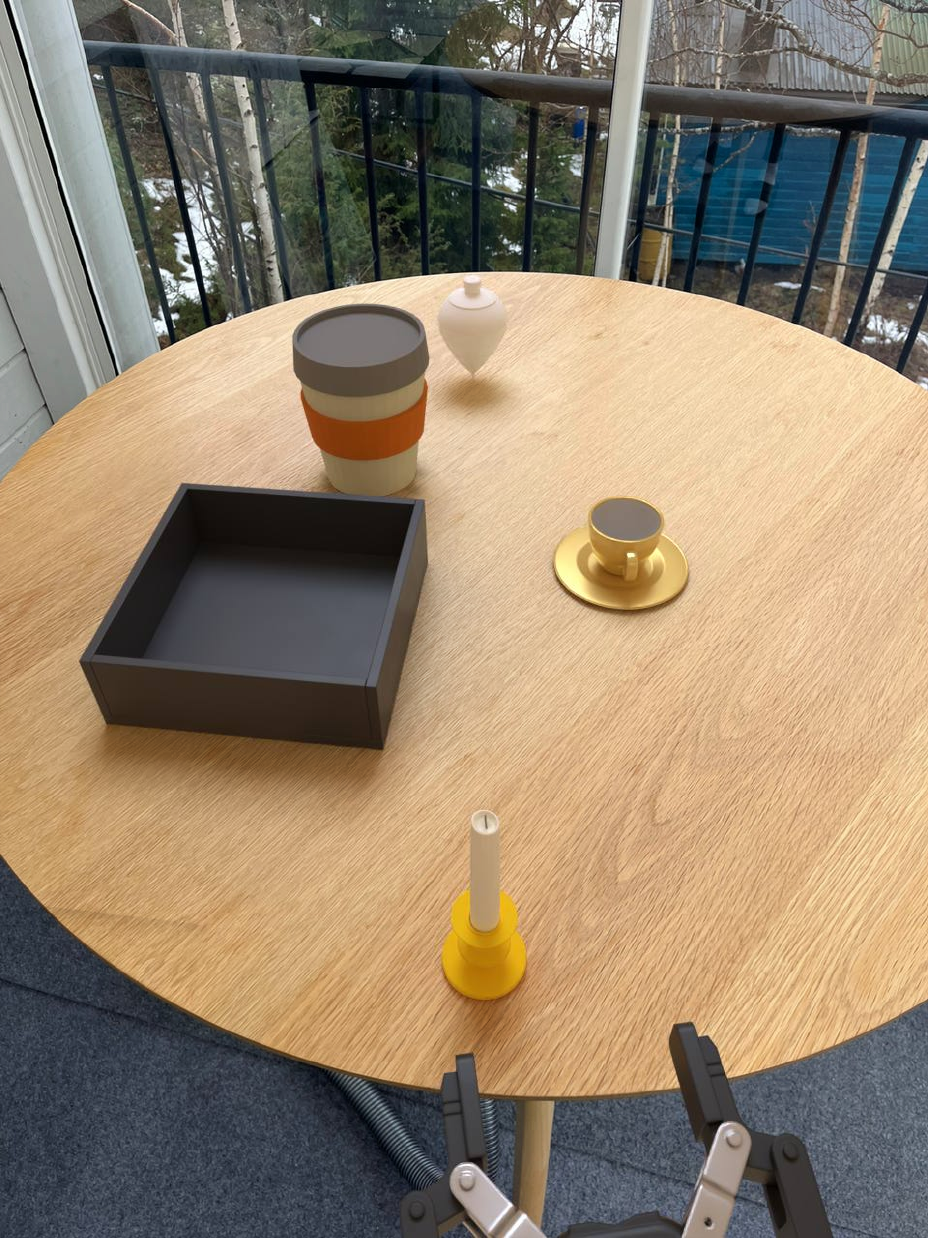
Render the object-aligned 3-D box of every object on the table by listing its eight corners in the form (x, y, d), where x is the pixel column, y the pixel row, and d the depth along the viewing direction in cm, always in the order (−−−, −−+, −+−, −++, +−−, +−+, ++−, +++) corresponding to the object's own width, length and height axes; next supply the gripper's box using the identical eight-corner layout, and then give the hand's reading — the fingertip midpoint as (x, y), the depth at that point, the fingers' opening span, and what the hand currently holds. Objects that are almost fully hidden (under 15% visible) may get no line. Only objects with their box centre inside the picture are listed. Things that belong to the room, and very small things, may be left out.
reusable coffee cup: (306, 512, 90) (283, 371, 80) (313, 439, 99) (293, 304, 89) (436, 505, 91) (431, 365, 80) (431, 434, 100) (426, 299, 89)
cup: (547, 526, 88) (550, 478, 85) (674, 523, 88) (683, 476, 85) (558, 614, 80) (562, 566, 76) (699, 611, 80) (710, 563, 76)
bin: (105, 723, 72) (78, 661, 67) (198, 544, 87) (181, 482, 82) (383, 750, 70) (376, 687, 65) (428, 561, 85) (425, 499, 80)
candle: (534, 931, 59) (546, 785, 48) (515, 1011, 56) (523, 872, 45) (455, 911, 60) (449, 763, 49) (431, 988, 57) (419, 846, 46)
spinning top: (443, 361, 111) (440, 261, 102) (507, 363, 110) (510, 263, 102) (436, 395, 105) (432, 293, 97) (504, 398, 105) (506, 295, 96)
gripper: (1011, 1611, 23) (768, 976, 35) (432, 1732, 22) (382, 1031, 33) (914, 1608, 28) (731, 1056, 40) (443, 1704, 27) (396, 1107, 39)
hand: (572, 1045), depth 37 cm, fingers open, 8 cm apart
